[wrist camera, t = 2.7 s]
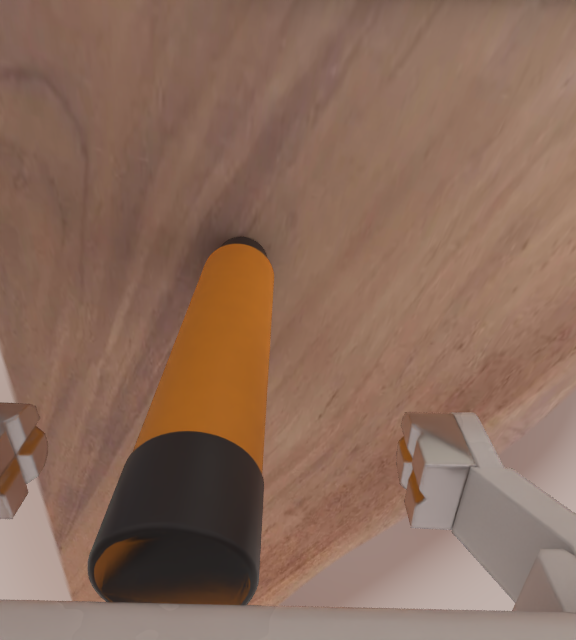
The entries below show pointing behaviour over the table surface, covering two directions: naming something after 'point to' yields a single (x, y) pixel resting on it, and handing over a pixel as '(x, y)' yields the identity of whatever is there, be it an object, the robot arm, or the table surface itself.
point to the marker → (198, 452)
